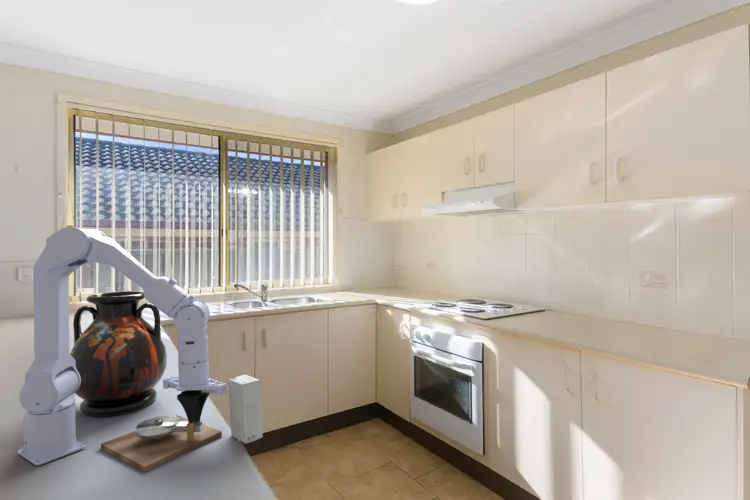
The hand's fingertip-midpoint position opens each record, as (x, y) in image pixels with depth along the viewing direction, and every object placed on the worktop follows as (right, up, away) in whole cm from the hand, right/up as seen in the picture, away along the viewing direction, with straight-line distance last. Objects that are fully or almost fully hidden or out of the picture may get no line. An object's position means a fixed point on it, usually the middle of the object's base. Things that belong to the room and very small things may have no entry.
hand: (195, 425), depth 86 cm
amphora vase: (-27, -3, +18) cm, 33 cm away
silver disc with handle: (-4, 0, -2) cm, 4 cm away
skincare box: (+10, -3, 0) cm, 11 cm away
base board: (-6, -3, -2) cm, 7 cm away
